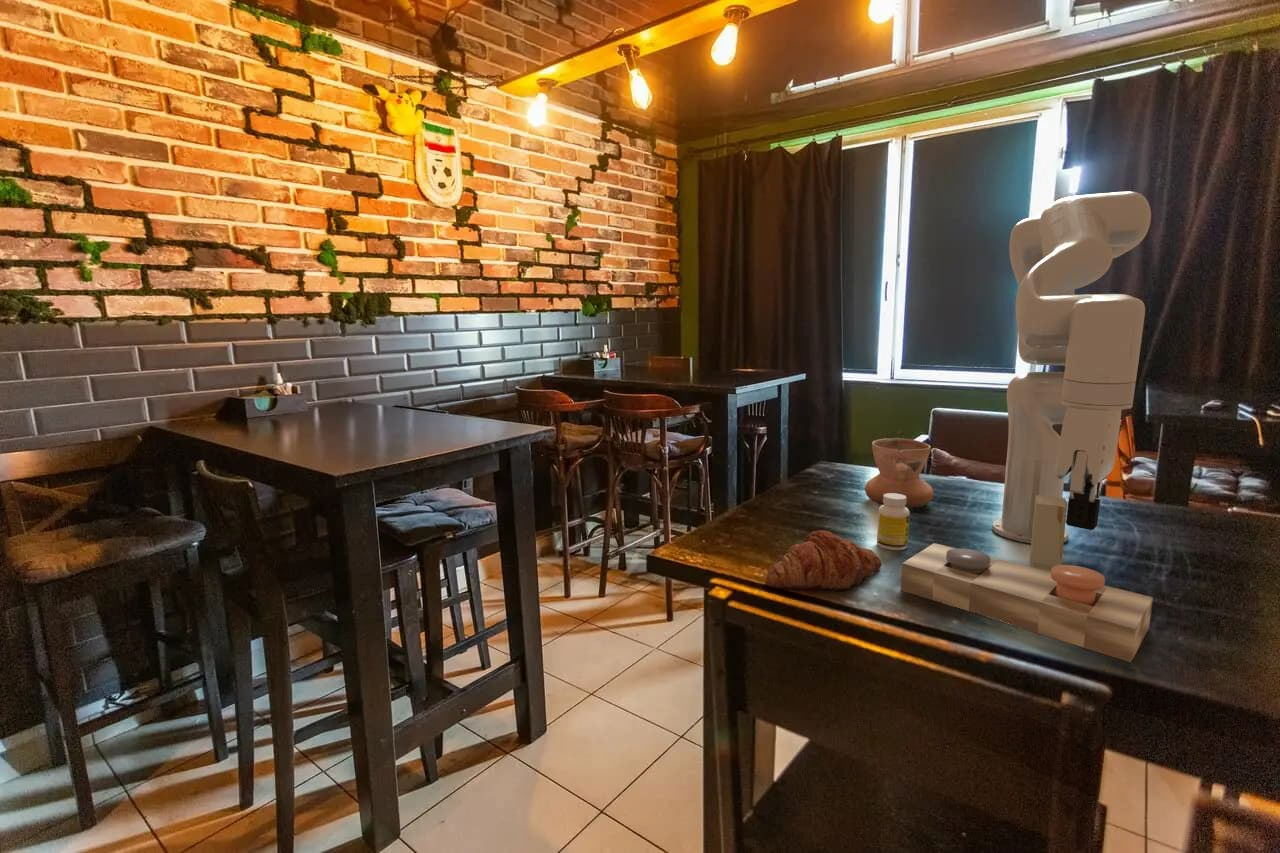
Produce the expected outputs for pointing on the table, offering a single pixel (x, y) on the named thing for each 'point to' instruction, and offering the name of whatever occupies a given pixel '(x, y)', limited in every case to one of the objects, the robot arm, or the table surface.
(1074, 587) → the terracotta button
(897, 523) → the supplement bottle
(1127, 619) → the button console
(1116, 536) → the table surface
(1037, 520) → the skincare box
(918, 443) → the ceramic jug
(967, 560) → the grey knob
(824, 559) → the pastry
